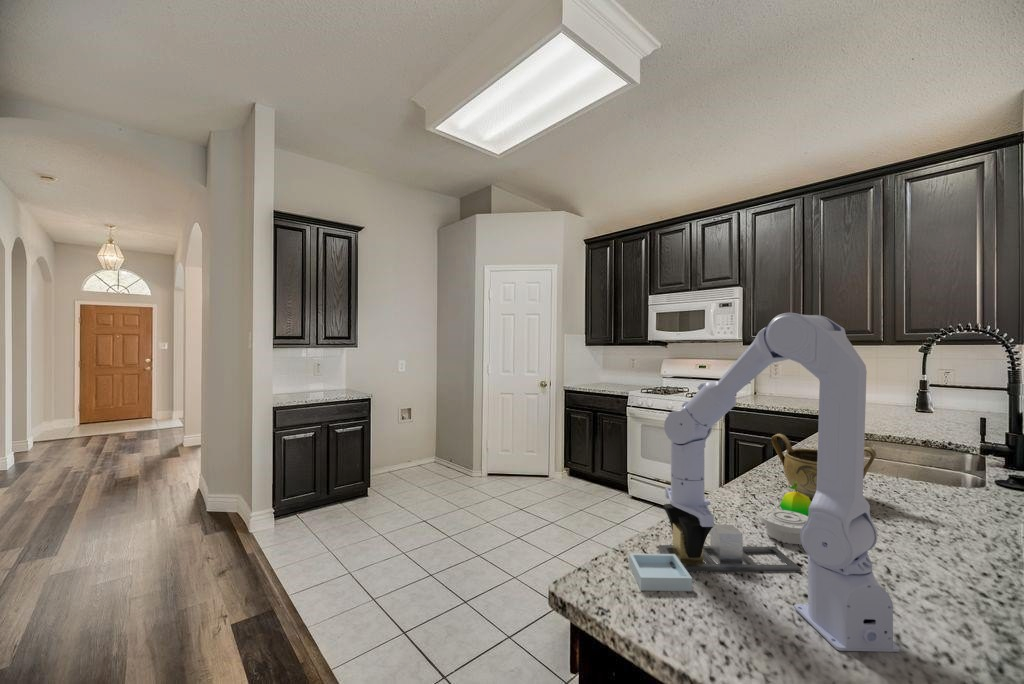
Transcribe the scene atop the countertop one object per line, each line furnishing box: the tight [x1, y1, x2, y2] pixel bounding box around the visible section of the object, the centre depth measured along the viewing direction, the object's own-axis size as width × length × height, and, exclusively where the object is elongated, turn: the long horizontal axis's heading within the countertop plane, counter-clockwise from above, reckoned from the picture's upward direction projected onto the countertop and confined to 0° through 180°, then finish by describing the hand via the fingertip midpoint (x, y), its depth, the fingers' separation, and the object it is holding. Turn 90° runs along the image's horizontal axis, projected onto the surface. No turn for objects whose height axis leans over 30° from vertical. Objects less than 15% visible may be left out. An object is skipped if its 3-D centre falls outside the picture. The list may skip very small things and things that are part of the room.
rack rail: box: [658, 544, 802, 573], centre depth 81 cm, size 8×22×1 cm, turn 88°
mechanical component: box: [759, 508, 808, 546], centre depth 91 cm, size 10×4×10 cm
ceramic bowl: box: [771, 433, 877, 500], centre depth 115 cm, size 22×17×15 cm
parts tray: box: [628, 553, 693, 592], centre depth 75 cm, size 8×8×2 cm
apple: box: [779, 481, 812, 516], centre depth 99 cm, size 7×6×9 cm
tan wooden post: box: [672, 523, 704, 564], centre depth 81 cm, size 4×4×6 cm
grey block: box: [709, 523, 744, 564], centre depth 81 cm, size 4×4×6 cm
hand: (687, 550), depth 81 cm, fingers closed on tan wooden post, 4 cm apart
